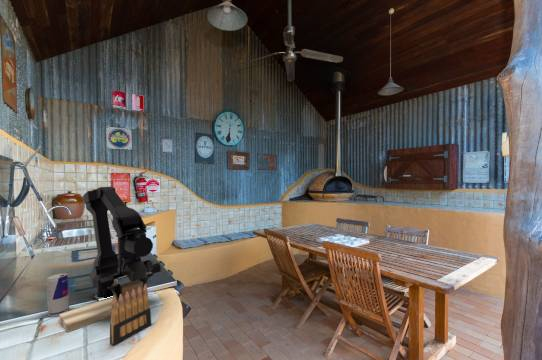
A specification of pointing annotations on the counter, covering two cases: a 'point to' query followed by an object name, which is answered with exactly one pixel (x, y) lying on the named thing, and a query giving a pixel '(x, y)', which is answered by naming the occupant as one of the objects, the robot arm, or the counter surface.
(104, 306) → the maple board
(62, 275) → the energy drink
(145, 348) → the counter surface
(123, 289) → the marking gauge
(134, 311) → the ammunition clip
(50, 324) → the counter surface
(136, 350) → the counter surface
